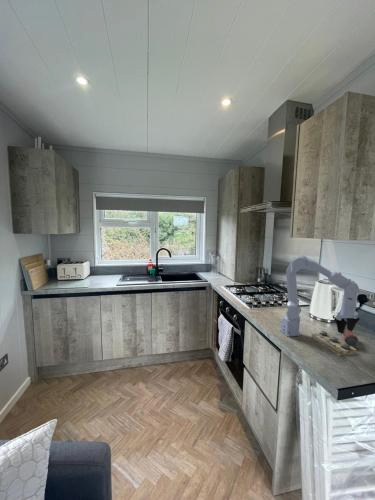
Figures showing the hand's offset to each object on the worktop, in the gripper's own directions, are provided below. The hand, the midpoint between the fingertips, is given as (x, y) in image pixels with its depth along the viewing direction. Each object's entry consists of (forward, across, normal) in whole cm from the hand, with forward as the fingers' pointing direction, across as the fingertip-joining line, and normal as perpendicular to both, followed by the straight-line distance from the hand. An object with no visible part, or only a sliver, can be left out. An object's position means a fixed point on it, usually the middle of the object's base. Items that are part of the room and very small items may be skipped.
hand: (345, 331), depth 110 cm
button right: (+7, -3, -3) cm, 8 cm away
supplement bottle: (+6, +13, +5) cm, 15 cm away
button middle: (+7, -2, +4) cm, 8 cm away
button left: (+7, 0, +10) cm, 12 cm away
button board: (+9, -3, +4) cm, 10 cm away
